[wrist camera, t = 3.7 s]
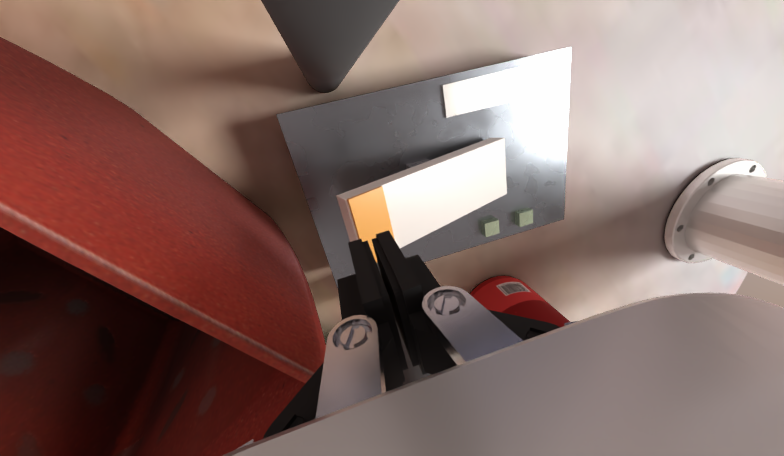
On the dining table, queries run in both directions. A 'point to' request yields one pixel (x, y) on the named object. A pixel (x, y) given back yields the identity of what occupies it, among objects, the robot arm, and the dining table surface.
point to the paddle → (426, 194)
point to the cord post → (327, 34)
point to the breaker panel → (440, 148)
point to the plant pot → (134, 285)
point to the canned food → (515, 300)
